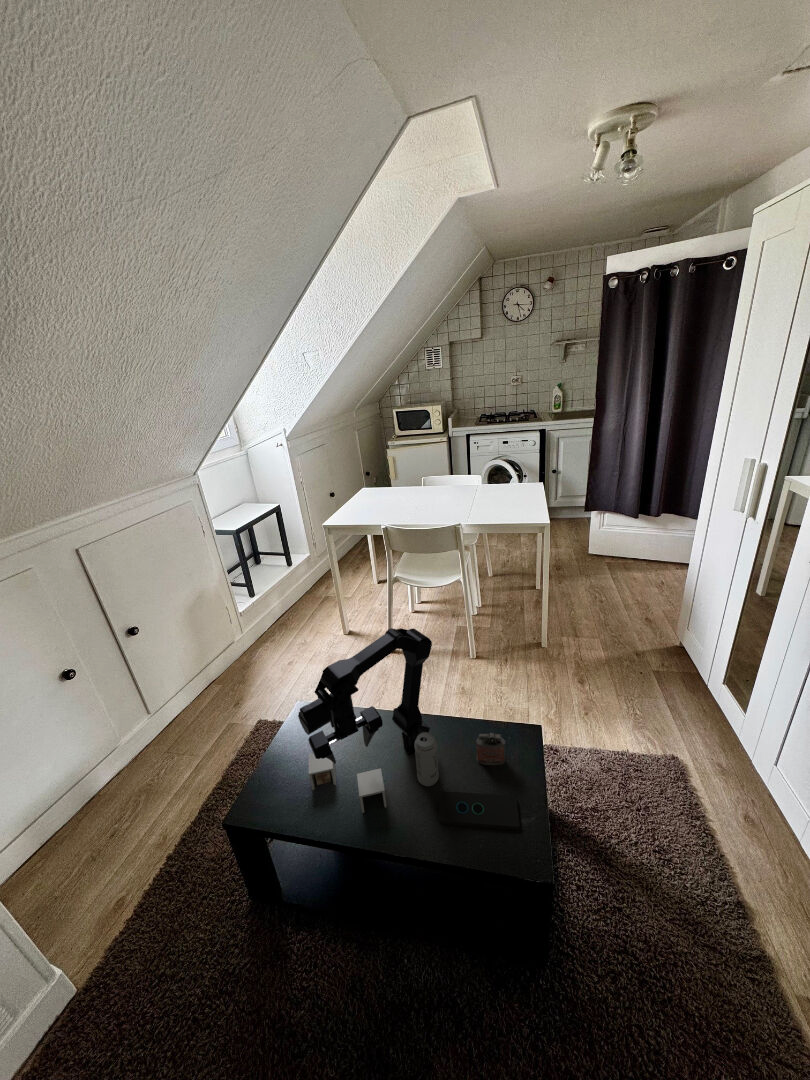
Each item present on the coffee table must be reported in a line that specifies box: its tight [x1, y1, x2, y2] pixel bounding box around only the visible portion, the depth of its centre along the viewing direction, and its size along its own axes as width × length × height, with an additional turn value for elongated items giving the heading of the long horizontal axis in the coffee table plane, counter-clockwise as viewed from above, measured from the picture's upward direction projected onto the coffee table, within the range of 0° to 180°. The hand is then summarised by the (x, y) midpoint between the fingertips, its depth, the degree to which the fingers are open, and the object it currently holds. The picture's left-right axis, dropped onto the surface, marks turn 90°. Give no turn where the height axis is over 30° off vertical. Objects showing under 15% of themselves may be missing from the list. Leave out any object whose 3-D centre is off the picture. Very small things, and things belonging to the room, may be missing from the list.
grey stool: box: [356, 767, 388, 814], centre depth 113 cm, size 7×7×6 cm
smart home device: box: [438, 790, 521, 830], centre depth 109 cm, size 8×2×20 cm
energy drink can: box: [414, 732, 440, 787], centre depth 115 cm, size 6×6×15 cm
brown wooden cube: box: [315, 771, 332, 786], centre depth 120 cm, size 4×4×4 cm
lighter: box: [475, 732, 506, 766], centre depth 120 cm, size 8×3×10 cm, turn 84°
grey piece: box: [308, 748, 337, 791], centre depth 120 cm, size 7×7×6 cm
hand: (350, 753), depth 113 cm, fingers open, 9 cm apart
